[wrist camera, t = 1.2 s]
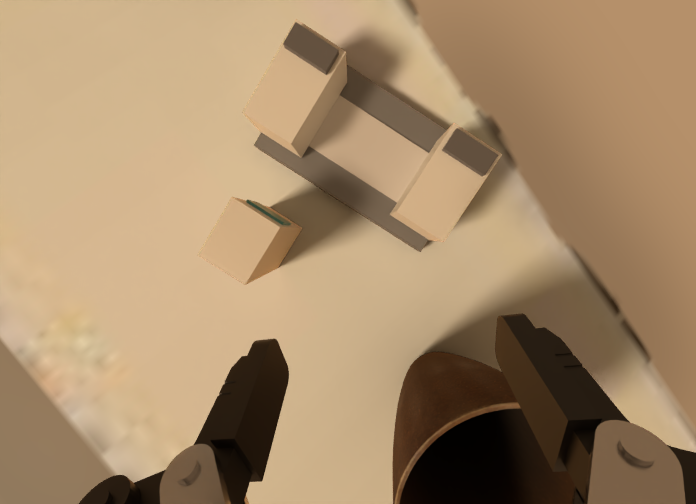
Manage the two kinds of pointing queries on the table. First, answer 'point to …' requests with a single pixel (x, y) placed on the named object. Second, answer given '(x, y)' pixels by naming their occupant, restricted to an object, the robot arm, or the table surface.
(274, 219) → the block
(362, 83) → the board
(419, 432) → the plant pot
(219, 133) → the table surface
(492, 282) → the table surface
